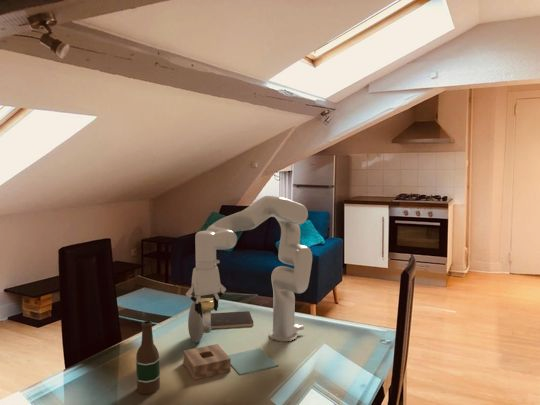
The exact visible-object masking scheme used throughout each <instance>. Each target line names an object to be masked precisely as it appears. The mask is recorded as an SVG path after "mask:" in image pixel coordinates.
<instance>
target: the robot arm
mask: <svg viewBox="0 0 540 405" xmlns="http://www.w3.org/2000/svg"><path fill="white" fill-rule="evenodd" d="M271 217H272V218H275V219H276V221H277V222H278V224H279V227H280V240H279V245H278V246H279V247H278V252H277V253H278V254H277V256H278V260H279V261H280V262H281V263H282V264H286V265H290V266H293V268H292V267H289V266H284V265H280V266H276V267H275V268H274V269H273V270H272V272H271V278H270V279H271V286H272V291H273V292H272V293H273V295H272V297H273V299H272V300H273V302H272V306H273V307H272V330H271V331H270V332H269V338H270V339H272V340H273V341H276V342H283V343H288V341H289V342H292V340H293V341H295V340H296V339H298V337H297V336H298V331H303V330H304V329H305V327H304V325H303V324H302V325H299V324H295V315H296V314H295V309H296V308H295V305H296V296H295V294H302V293H303V294H304V292H306V290H307V289H308V288H309V283H310V277H311V271H312V264H313V252H312V251H311V250H312V249H311V248H310V247H308V246H307V245H303V244H301V243H300V242H301V228H300V225H303V224H304V223H306V221H307V219H308V217H309V212H308V209H307V207H306V206H305V205H304V204H302V203H299V202H296V201H293V200H291V199H288V198H285V197H283V196H274V195H264V196H262V197H260V198H258V200H256V201H255V202H253V203H251V205H249V206H248V207H246V208H244V209H243V210H241V211H238V212H235V213H233V214H230V215H227V216H224V217H222V218H220V219H218V220H216V221H215V222H213V223H212V224H211V225H209V226H208V227H207V228H206V229H205V230H200V231H198V232H196V233H195V235H194V236H195V239H194V240H195V241H194V242H195V243H194V244H195V267H194V268H193V269H192V274H191V275H192V276H191V287H190V288H189V289H188V291H187V292H186V293H185V295H186V297H187V298H189V299H190V300H191V301H192V302H193V301H194V302H195V311H196V312H197V313H198V314H200V303H199V300H200V298H201V297H202V296H203V297H204V296H208V295H212V296H213V298H212V299H214V300H215V309H214V310H213V311H215V312H217V311H218V308H219V300H220V298H221V297H222V296H223V294H224V293H225V292H226V291H227V288H226V287H225V286H224V285H223V284H222V283H221V278H220V272H219V271H220V270H219V267H218V264H220V262H221V261H220V259H217V251H218V250H230V249H233V247H235V246H236V245H237V242H238V236H237V234H236V233H235V232H241V231H243V232H244V231H251V230H254V229H255V228H257V227H259V225H261V224H263V223H264V222H265V221H267V220H268V219H269V218H271ZM192 294H194V295H192ZM294 339H295V340H294Z"/></svg>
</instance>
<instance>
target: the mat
mask: <svg viewBox="0 0 540 405" xmlns="http://www.w3.org/2000/svg"><path fill="white" fill-rule="evenodd" d="M227 355H228V356H229V357H230V359H231V367H232V368H233V370H234V371H236V373H237V374H238V375H239V376H242V375H246V374H251V373H253V372H254V373H255V372H258V371H264V370H267V369H271V368H276V367H279V364H278V363H276V361H274V360H273V359H272V358H271V357H270V356H269V355H268V354H267V353H266V352H265V351H264V350H262V348H261V347H258V348H255V349H251V350H245V351H241V352H235V353H231V354H227Z"/></svg>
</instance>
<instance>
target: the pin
mask: <svg viewBox="0 0 540 405" xmlns="http://www.w3.org/2000/svg"><path fill="white" fill-rule="evenodd" d="M199 303H200V311H203V332H204V334H208V333H212V329H211V313H212V311H215V310H214V309H215V300H214V299H213V298H211V297H203V298H201V299H200V300H199Z"/></svg>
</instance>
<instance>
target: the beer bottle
mask: <svg viewBox="0 0 540 405" xmlns="http://www.w3.org/2000/svg"><path fill="white" fill-rule="evenodd" d="M153 325H154V324H153V322H152V321H151V320H144V321H143V322H141V328H142V329H141V342H140V346H139V348H138V349H137V350H136V351H137V352H136V355H135V356H136V359H135V361H136V362H135V365H136V368H135V370H136V371H135V372H136V390H137V391H138V393H139V394H141V395H144V396H145V395H146V396H147V395H150V394H155V393H156V392H158V390H160V384H161V377H160V376H161V375H160V374H161V373H160V367H161V366H160V353H159V351H158V348H157V346H156V345H155V343H154V336H153V335H154V334H153Z"/></svg>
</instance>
